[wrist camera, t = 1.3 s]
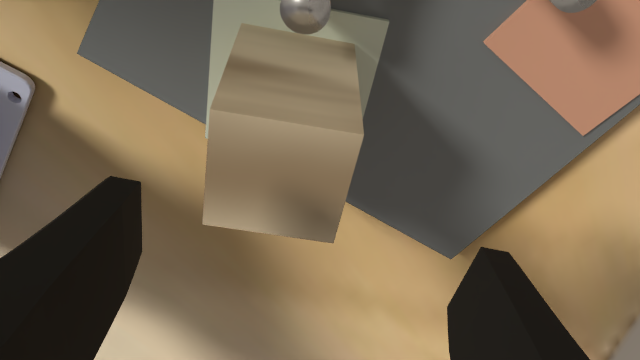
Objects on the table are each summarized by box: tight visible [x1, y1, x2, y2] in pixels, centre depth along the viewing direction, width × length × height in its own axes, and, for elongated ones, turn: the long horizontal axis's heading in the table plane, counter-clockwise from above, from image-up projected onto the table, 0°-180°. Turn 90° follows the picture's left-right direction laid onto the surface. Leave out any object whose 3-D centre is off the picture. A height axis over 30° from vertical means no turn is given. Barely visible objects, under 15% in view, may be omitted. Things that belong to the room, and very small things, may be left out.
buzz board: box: [77, 0, 640, 259], centre depth 18 cm, size 16×18×1 cm
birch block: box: [202, 23, 364, 243], centre depth 17 cm, size 4×4×6 cm
